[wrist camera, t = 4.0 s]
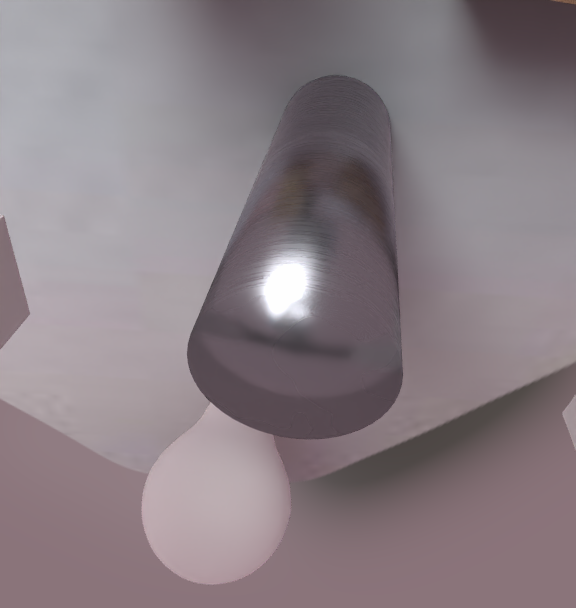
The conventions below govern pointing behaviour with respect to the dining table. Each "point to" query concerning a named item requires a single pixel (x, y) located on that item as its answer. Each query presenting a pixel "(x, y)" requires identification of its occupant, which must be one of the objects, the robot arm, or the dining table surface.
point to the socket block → (566, 1)
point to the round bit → (310, 276)
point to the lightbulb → (217, 501)
